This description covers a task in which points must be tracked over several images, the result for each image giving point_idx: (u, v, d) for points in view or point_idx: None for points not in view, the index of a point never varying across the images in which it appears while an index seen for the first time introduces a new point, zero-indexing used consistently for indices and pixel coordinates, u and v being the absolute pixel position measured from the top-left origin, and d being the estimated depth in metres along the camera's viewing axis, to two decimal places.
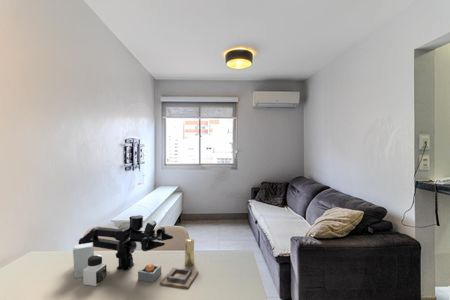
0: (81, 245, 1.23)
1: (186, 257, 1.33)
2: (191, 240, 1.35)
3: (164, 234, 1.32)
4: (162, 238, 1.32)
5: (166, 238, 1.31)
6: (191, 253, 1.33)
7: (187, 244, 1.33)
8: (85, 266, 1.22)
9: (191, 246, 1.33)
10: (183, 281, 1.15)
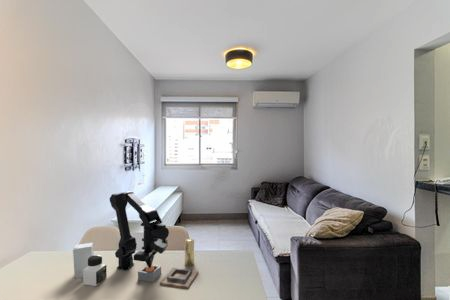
0: (81, 245, 1.23)
1: (186, 257, 1.33)
2: (191, 240, 1.35)
3: (151, 256, 1.22)
4: None
5: None
6: (191, 253, 1.33)
7: (187, 244, 1.33)
8: (85, 266, 1.22)
9: (191, 246, 1.33)
10: (183, 281, 1.15)
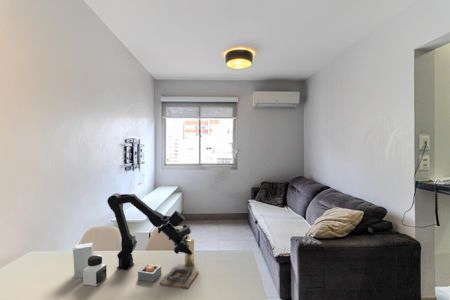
0: (81, 245, 1.23)
1: (186, 257, 1.33)
2: (191, 240, 1.35)
3: None
4: None
5: None
6: None
7: (187, 244, 1.33)
8: (85, 266, 1.22)
9: (191, 246, 1.33)
10: (183, 281, 1.15)
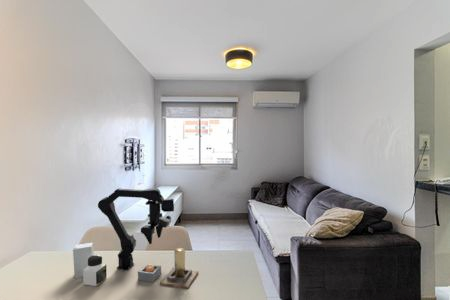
0: (81, 245, 1.23)
1: None
2: (181, 250, 1.20)
3: (160, 228, 1.39)
4: (156, 226, 1.40)
5: (157, 230, 1.39)
6: (179, 265, 1.18)
7: (175, 253, 1.18)
8: (85, 266, 1.22)
9: (179, 257, 1.18)
10: (183, 281, 1.15)
